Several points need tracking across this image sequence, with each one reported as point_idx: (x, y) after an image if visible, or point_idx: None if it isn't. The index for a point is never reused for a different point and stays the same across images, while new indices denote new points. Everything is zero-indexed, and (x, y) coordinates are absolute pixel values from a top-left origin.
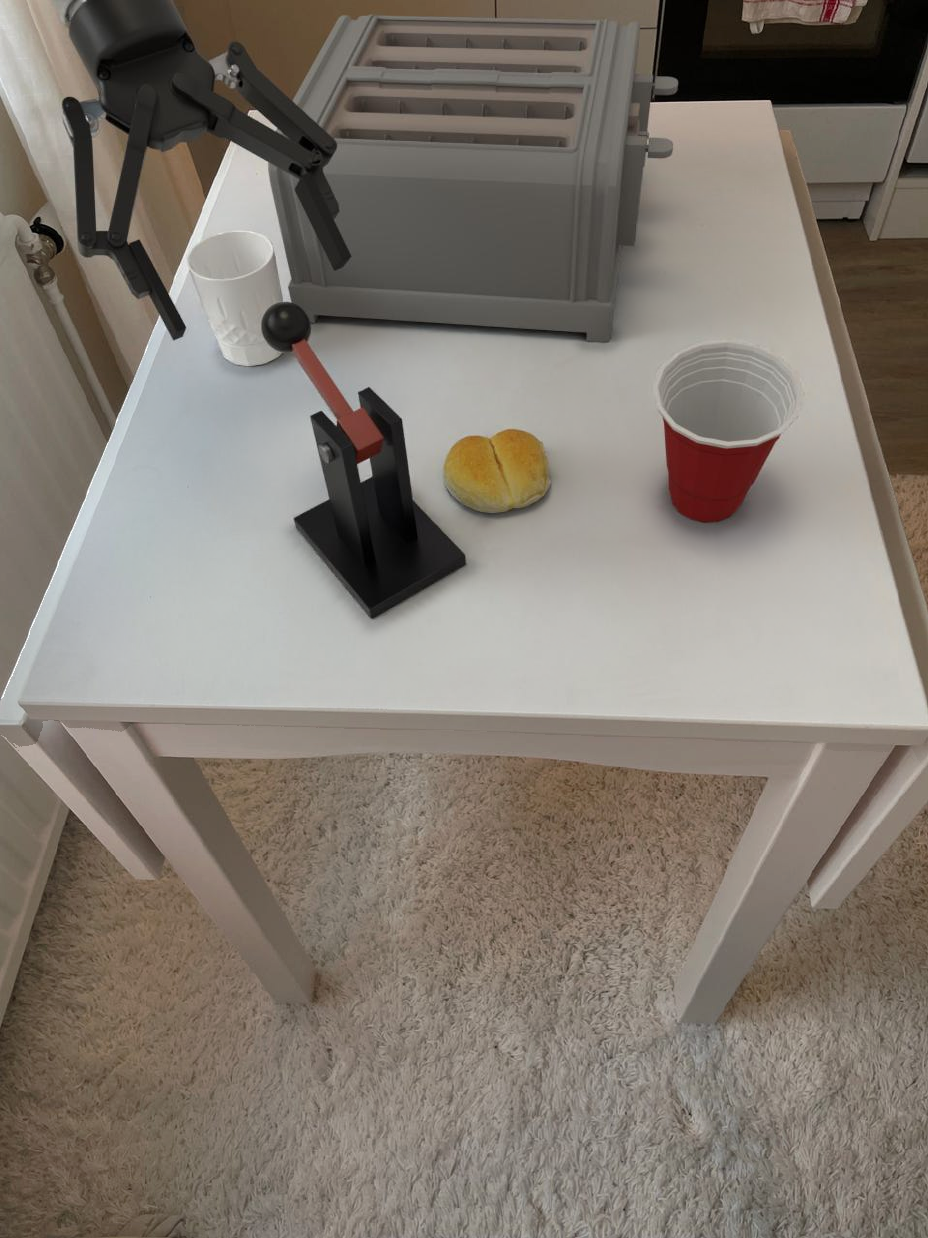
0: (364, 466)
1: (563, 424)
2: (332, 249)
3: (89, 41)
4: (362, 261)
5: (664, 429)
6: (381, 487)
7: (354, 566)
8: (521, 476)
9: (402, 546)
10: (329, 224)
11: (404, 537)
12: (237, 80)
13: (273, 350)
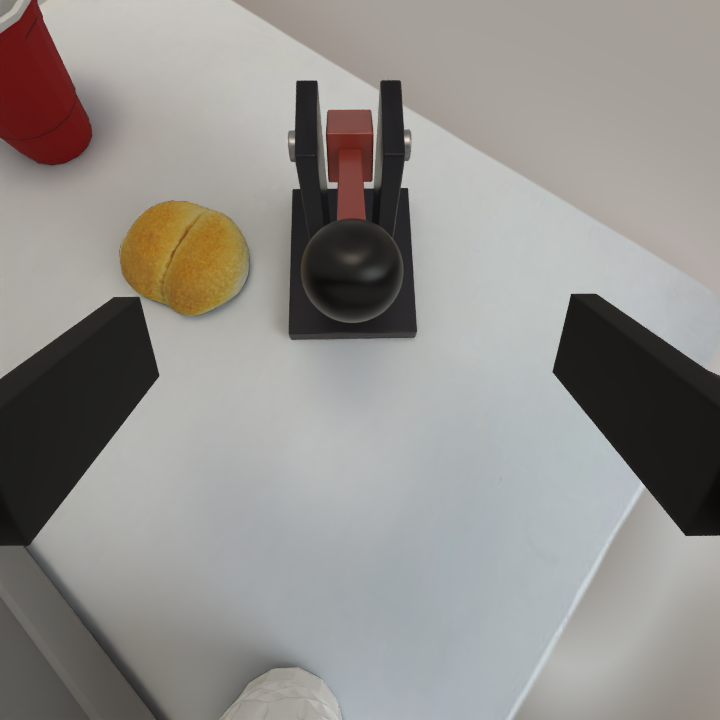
0: (298, 374)
1: (72, 292)
2: (130, 343)
3: None
4: (16, 702)
5: (25, 86)
6: None
7: (393, 237)
8: (181, 205)
9: None
10: (80, 336)
11: None
12: None
13: (274, 673)
